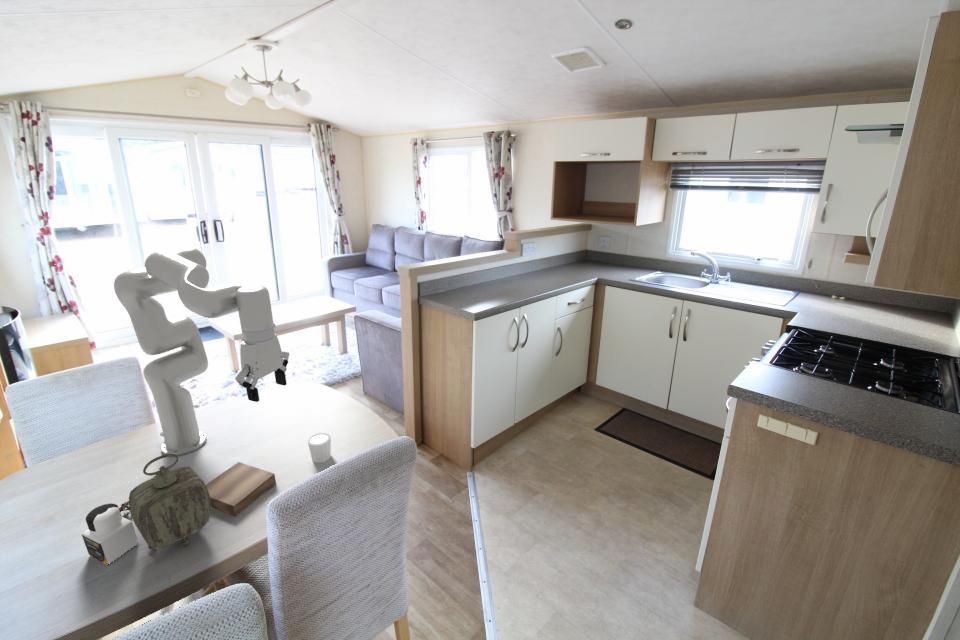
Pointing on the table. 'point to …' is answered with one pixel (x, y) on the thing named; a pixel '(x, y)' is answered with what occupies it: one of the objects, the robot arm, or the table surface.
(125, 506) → the wooden post with brackets
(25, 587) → the table surface
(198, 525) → the camouflage pouch
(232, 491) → the block
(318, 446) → the white cup
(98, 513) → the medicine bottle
